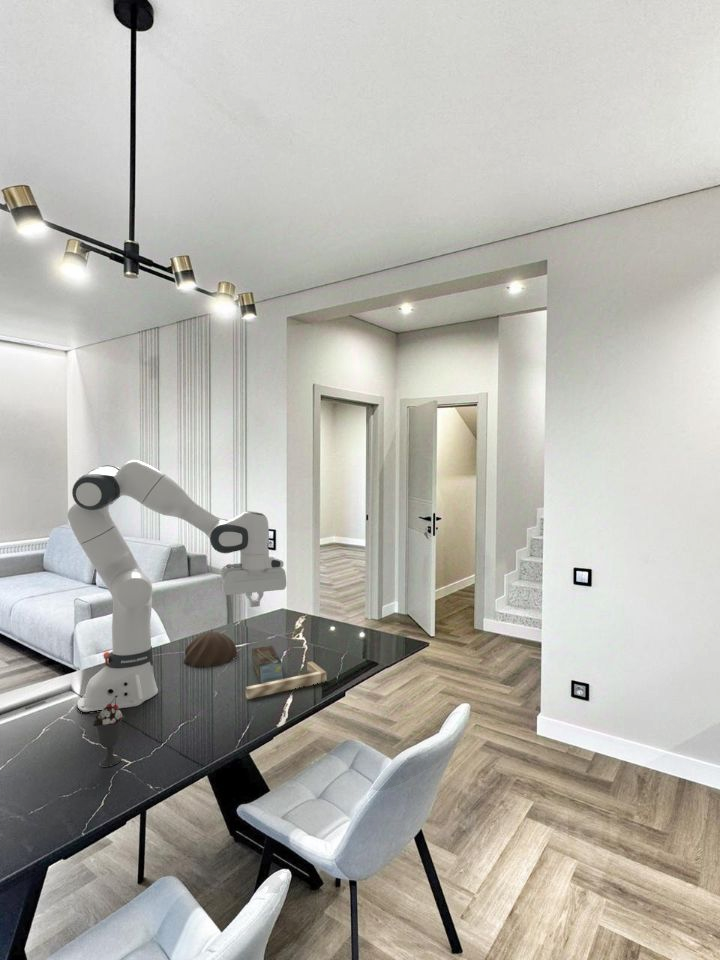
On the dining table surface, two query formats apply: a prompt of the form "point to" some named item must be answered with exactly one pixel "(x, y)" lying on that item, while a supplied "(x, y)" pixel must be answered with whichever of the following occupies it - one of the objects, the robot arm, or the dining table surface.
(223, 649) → the decorative dome
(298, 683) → the oak fence
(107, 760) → the sundae
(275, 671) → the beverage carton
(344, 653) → the dining table surface
